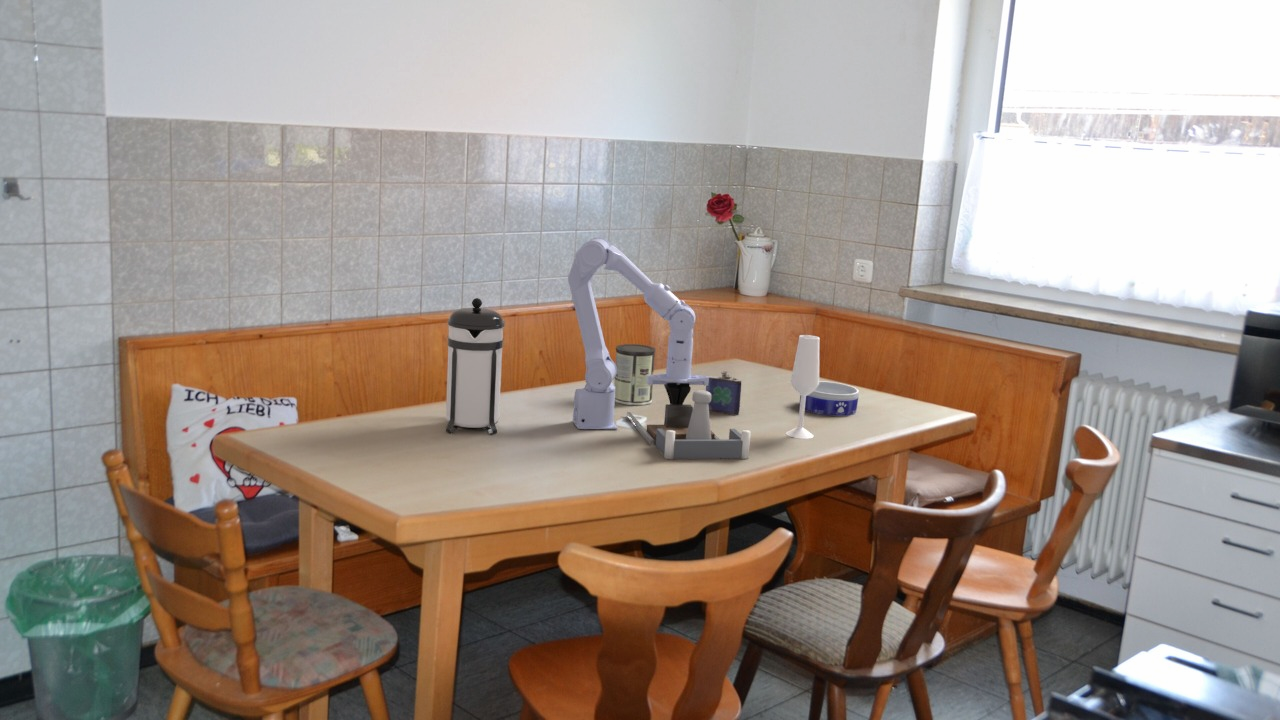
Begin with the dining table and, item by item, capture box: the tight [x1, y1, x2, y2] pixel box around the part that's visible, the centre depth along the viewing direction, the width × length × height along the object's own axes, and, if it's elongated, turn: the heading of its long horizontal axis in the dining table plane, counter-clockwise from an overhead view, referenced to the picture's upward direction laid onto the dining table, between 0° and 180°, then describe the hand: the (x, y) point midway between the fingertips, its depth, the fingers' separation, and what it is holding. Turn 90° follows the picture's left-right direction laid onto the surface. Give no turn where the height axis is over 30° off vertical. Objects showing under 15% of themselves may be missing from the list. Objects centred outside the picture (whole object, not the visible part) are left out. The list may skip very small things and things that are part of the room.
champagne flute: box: [785, 334, 821, 440], centre depth 262 cm, size 7×7×24 cm
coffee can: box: [613, 343, 657, 406], centre depth 285 cm, size 10×10×14 cm
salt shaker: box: [686, 389, 712, 439], centre depth 247 cm, size 6×6×13 cm
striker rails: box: [626, 411, 720, 446], centre depth 260 cm, size 16×24×1 cm
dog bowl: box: [799, 380, 860, 417], centre depth 292 cm, size 15×15×6 cm
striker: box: [646, 403, 716, 444], centre depth 253 cm, size 14×8×7 cm, turn 104°
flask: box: [705, 370, 742, 416], centre depth 280 cm, size 9×3×11 cm, turn 71°
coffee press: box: [445, 297, 506, 436], centre depth 249 cm, size 17×16×30 cm
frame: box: [655, 428, 751, 460], centre depth 244 cm, size 19×10×6 cm, turn 104°
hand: (675, 414), depth 258 cm, fingers closed, pressing on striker
